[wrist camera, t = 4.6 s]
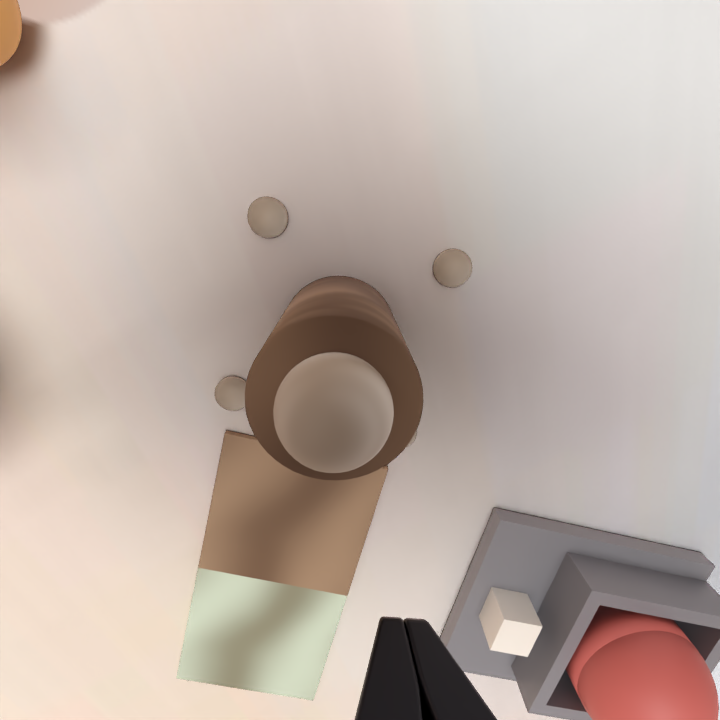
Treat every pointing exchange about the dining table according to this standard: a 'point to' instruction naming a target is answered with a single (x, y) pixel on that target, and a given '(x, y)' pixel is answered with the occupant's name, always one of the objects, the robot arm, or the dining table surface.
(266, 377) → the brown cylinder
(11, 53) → the figurine
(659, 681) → the red ball
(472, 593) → the console
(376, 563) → the dining table surface
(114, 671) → the dining table surface
